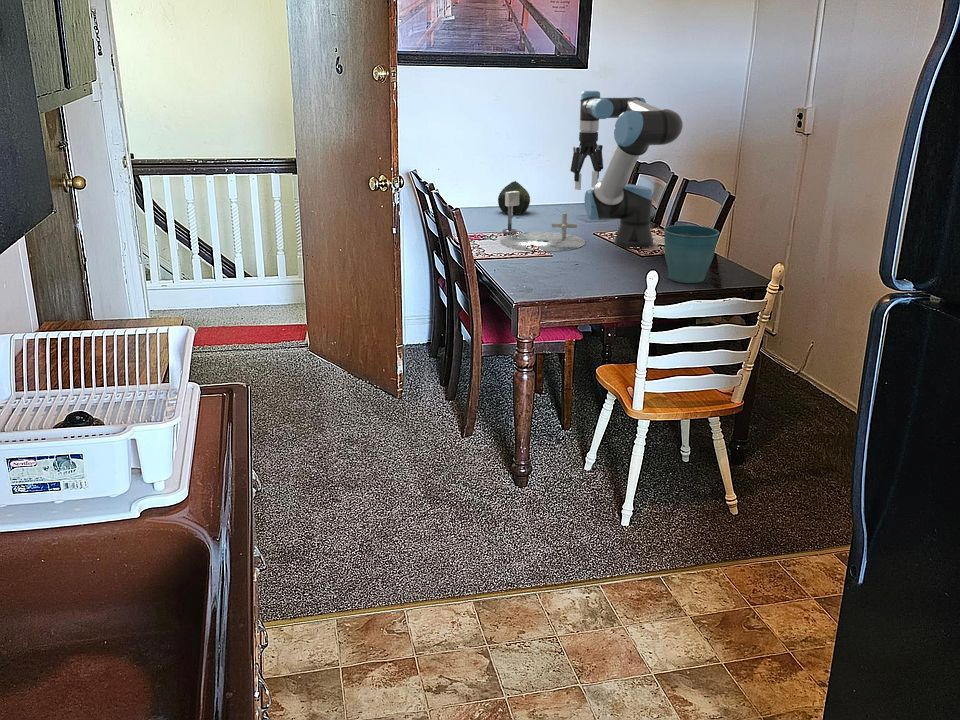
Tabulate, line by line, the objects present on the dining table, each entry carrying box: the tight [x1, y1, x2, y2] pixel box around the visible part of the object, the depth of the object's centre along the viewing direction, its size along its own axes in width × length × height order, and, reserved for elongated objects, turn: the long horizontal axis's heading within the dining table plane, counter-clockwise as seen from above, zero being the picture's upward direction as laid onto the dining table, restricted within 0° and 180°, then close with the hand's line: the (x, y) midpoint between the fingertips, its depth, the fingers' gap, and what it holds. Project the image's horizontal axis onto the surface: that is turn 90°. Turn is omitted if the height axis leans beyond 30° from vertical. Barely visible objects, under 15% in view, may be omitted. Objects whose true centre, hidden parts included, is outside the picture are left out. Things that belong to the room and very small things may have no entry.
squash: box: [497, 180, 531, 215], centre depth 400 cm, size 14×15×15 cm
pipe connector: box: [551, 212, 578, 238], centre depth 349 cm, size 10×10×10 cm
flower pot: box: [663, 224, 720, 284], centre depth 290 cm, size 18×18×17 cm
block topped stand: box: [501, 191, 520, 235], centre depth 357 cm, size 6×6×17 cm
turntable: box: [500, 231, 586, 253], centre depth 345 cm, size 34×34×1 cm
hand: (586, 188), depth 350 cm, fingers open, 8 cm apart
